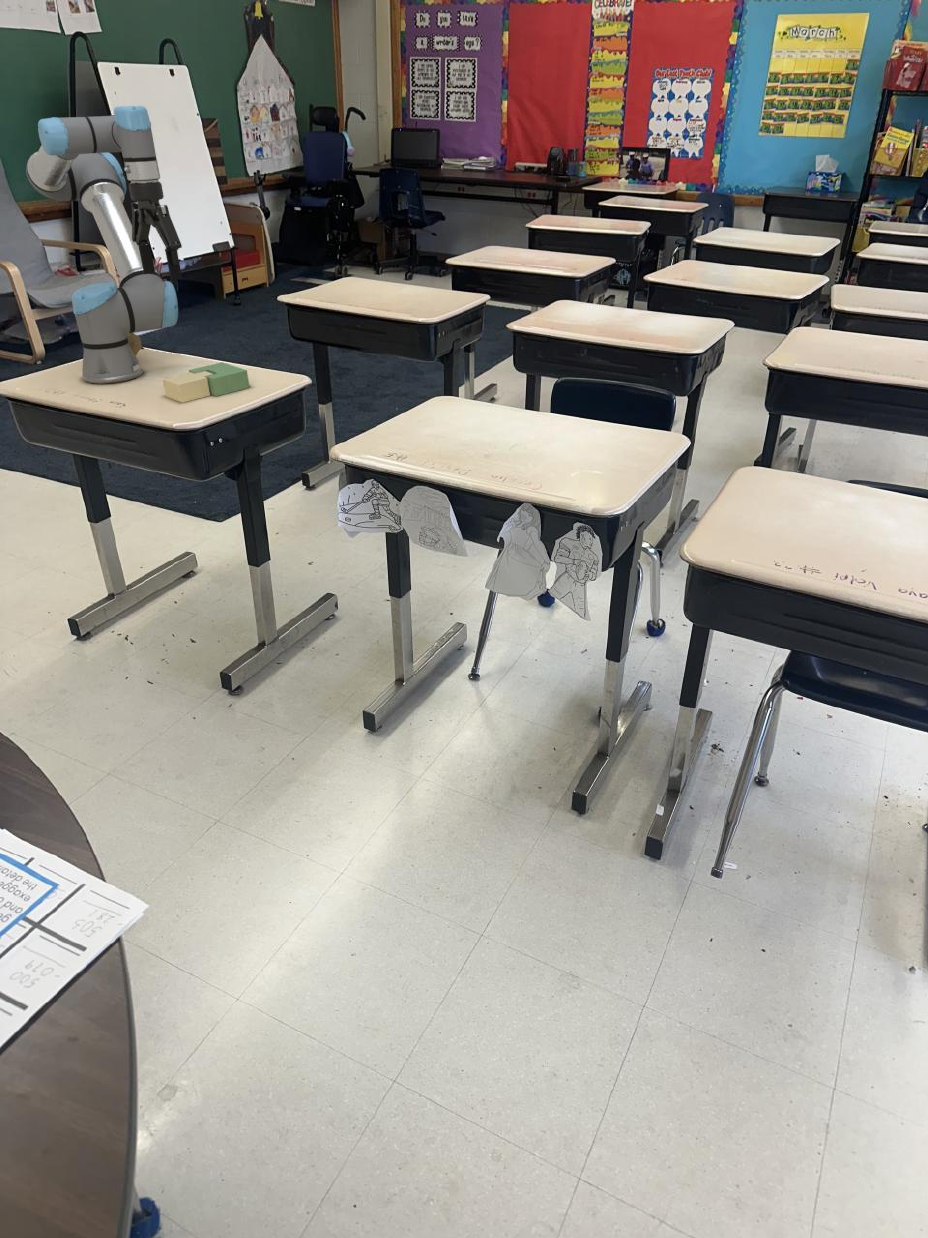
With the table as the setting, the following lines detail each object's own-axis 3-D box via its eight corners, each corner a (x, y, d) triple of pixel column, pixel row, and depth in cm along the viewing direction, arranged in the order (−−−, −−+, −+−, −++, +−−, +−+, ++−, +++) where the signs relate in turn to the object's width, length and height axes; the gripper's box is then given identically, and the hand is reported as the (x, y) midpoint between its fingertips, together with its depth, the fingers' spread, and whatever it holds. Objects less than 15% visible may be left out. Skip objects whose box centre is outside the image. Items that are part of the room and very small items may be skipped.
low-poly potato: (94, 359, 252) (82, 349, 241) (101, 322, 252) (90, 311, 240) (146, 372, 254) (137, 363, 243) (153, 335, 254) (145, 325, 243)
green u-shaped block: (191, 387, 225) (188, 369, 222) (224, 378, 231) (221, 361, 228) (216, 396, 217) (213, 378, 215) (249, 387, 223) (246, 370, 221)
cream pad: (165, 396, 218) (162, 378, 216) (204, 386, 225) (200, 369, 222) (182, 402, 213) (178, 384, 211) (220, 392, 220) (217, 375, 218)
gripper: (105, 180, 209) (125, 272, 220) (155, 185, 194) (174, 284, 205) (134, 177, 214) (152, 268, 225) (185, 182, 198) (202, 279, 210)
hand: (162, 276), depth 215 cm, fingers open, 13 cm apart
